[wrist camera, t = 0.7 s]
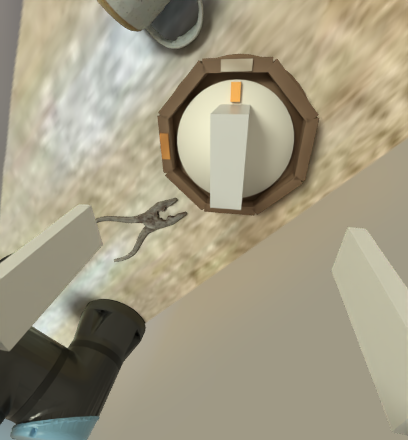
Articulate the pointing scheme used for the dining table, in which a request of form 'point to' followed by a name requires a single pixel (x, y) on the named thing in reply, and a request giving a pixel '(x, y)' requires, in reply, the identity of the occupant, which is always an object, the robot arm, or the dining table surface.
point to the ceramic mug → (149, 18)
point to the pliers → (146, 222)
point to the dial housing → (252, 71)
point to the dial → (235, 141)
